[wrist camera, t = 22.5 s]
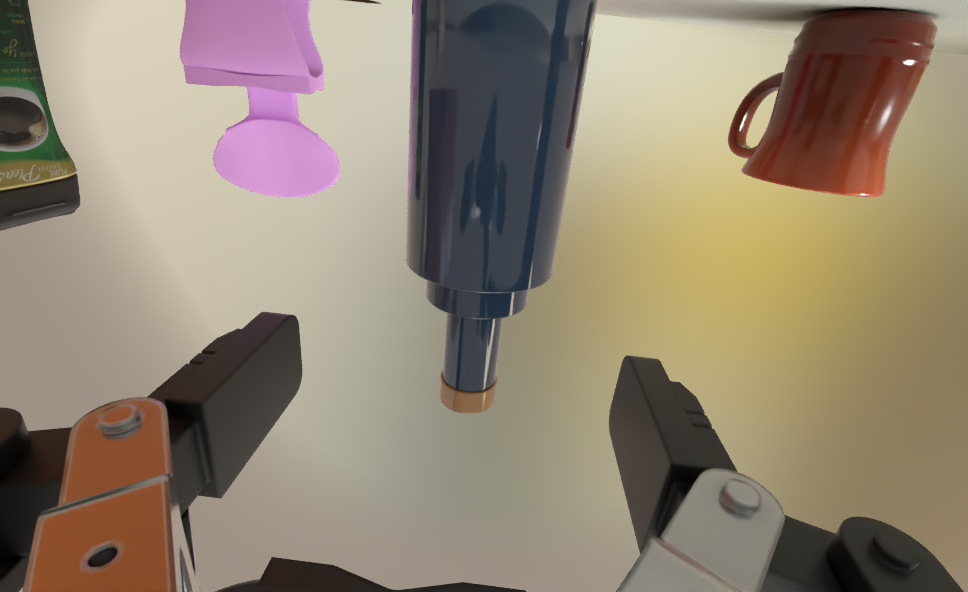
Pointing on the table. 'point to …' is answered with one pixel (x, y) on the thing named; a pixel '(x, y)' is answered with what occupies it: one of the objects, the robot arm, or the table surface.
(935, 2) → the table surface
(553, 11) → the bottle
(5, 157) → the coffee jar
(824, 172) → the mug
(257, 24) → the toy chair
